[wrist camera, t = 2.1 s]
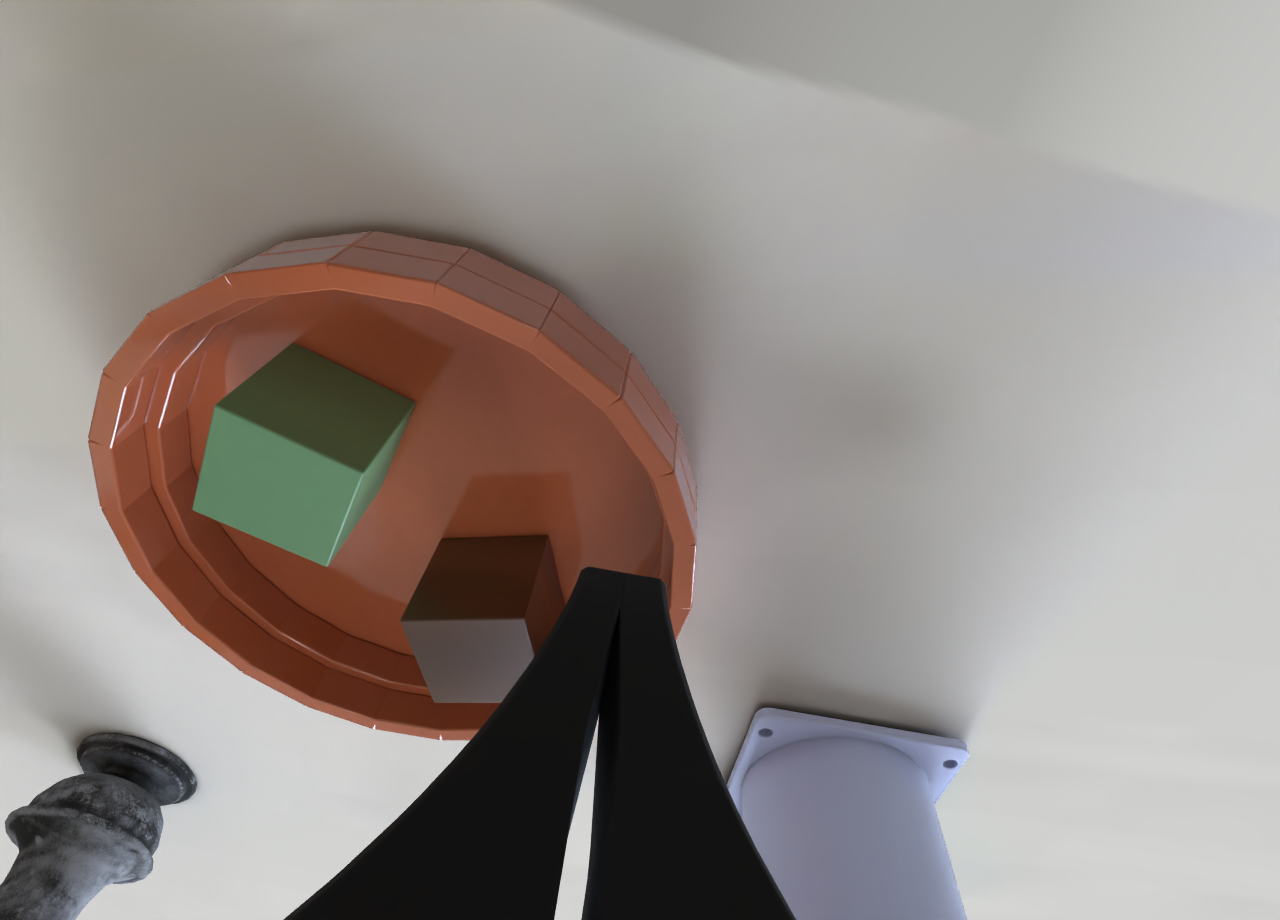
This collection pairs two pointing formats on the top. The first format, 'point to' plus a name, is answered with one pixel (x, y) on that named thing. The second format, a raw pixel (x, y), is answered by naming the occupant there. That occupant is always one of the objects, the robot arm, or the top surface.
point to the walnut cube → (482, 615)
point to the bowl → (419, 473)
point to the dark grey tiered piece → (91, 827)
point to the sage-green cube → (300, 453)
